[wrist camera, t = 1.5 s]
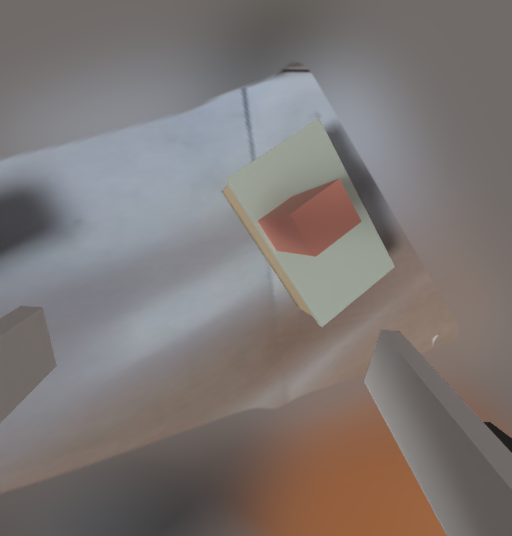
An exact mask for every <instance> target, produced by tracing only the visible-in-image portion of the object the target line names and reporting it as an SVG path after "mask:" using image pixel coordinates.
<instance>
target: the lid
mask: <svg viewBox="0 0 512 536" xmlns="http://www.w3.org/2000/svg"><path fill="white" fill-rule="evenodd" d="M225 181H226V183H227V184H228V186H229V187H230V189H231V191H232V192H233V194H234V195H235V197H236V198H237V200H238V201H239V203H240V204H241V206H242V207H243V209H244V210H245V212H246V214H247V215H248V217H249V218H250V220H251V221H252V223H253V224H254V226H255V227H256V229H257V230H258V232H259V234H260V235H261V237H262V238H263V240H264V241H265V243H266V244H267V246H268V247H269V249H270V250H271V252H272V254H273V255H274V257H275V258H276V260H277V261H278V263H279V264H280V266H281V267H282V269H283V270H284V272H285V274H286V275H287V277H288V278H289V280H290V281H291V283H292V284H293V286H294V287H295V289H296V290H297V292H298V294H299V295H300V297H301V298H302V300H303V301H304V303H305V304H306V306H307V307H308V309H309V310H310V312H311V313H312V315H313V317H314V318H315V320H316V321H317V323H318V324H319V326H321V327H323V326H324V325H325V324H326V323H328V322H329V321H330V320H331V319H333V318H334V317H335V316H336V315H337V314H339V313H340V312H341V311H342V310H343V309H345V308H346V307H347V306H348V305H349V304H351V303H352V302H353V301H354V300H355V299H357V298H358V297H359V296H360V295H361V294H363V293H364V292H365V291H366V290H367V289H369V288H370V287H371V286H372V285H373V284H375V283H376V282H377V281H378V280H379V279H381V278H382V277H383V276H384V275H385V274H387V273H388V272H389V271H390V270H392V269H393V268H394V267H395V266H394V264H393V262H392V260H391V258H390V256H389V254H388V252H387V250H386V248H385V246H384V244H383V242H382V240H381V239H380V237H379V235H378V233H377V231H376V229H375V227H374V225H373V223H372V221H371V219H370V217H369V215H368V213H367V211H366V209H365V207H364V205H363V203H362V201H361V199H360V197H359V195H358V193H357V191H356V189H355V187H354V185H353V183H352V181H351V180H350V178H349V176H348V174H347V172H346V170H345V168H344V166H343V164H342V162H341V160H340V158H339V156H338V154H337V152H336V150H335V148H334V146H333V144H332V142H331V140H330V138H329V136H328V134H327V132H326V130H325V128H324V126H323V124H322V122H321V121H320V119H319V118H318V119H316V120H315V121H313V122H312V123H310V124H309V125H307V126H306V127H304V128H303V129H301V130H300V131H298V132H297V133H295V134H294V135H292V136H291V137H289V138H288V139H286V140H285V141H283V142H282V143H280V144H279V145H277V146H276V147H274V148H273V149H271V150H269V151H268V152H266V153H265V154H263V155H262V156H260V157H259V158H257V159H256V160H254V161H253V162H251V163H250V164H248V165H247V166H245V167H244V168H242V169H241V170H239V171H238V172H236V173H235V174H233V175H232V176H230V177H229V178H227V179H226V180H225Z"/></svg>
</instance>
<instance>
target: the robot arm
mask: <svg viewBox="0 0 512 536" xmlns="http://www.w3.org/2000/svg"><path fill="white" fill-rule="evenodd" d="M56 366H57V365H56V361H55V357H54V353H53V349H52V345H51V340H50V336H49V332H48V328H47V324H46V320H45V315H44V311H43V307H28V306H20V307H19V308H17V309H15V310H14V311H12V312H10V313H9V314H7V315H5V316H4V317H2V318H1V319H0V423H1V422H2V421H3V420H4V419H5V418H6V417H7V416H8V415H9V414H10V412H11V411H12V410H13V409H14V408H15V407H16V406H17V405H18V404H19V403H20V402H21V401H22V400H23V399H24V398H25V397H26V396H27V395H28V394H29V393H30V392H31V391H32V390H33V389H34V388H35V387H36V386H37V385H38V384H39V383H40V382H41V381H42V380H43V379H44V378H45V377H46V376H47V375H48V374H49V373H50V372H51V371H52V370H53V369H54V368H55V367H56ZM364 383H365V384H366V386H367V388H368V390H369V392H370V394H371V396H372V398H373V399H374V401H375V403H376V405H377V407H378V409H379V410H380V412H381V414H382V416H383V418H384V420H385V422H386V424H387V425H388V427H389V429H390V431H391V433H392V435H393V436H394V438H395V440H396V442H397V444H398V446H399V447H400V449H401V451H402V453H403V455H404V457H405V459H406V461H407V463H408V464H409V466H410V468H411V470H412V472H413V474H414V476H415V477H416V479H417V481H418V483H419V485H420V487H421V488H422V490H423V492H424V494H425V496H426V498H427V500H428V502H429V503H430V505H431V507H432V509H433V511H434V513H435V514H436V516H437V518H438V520H439V522H440V524H441V526H442V528H443V530H444V531H445V533H446V535H447V536H512V438H510V437H509V436H508V435H506V434H505V433H504V432H502V431H501V430H500V429H498V428H497V427H496V426H494V425H493V424H491V423H490V422H483V421H482V420H481V419H480V418H479V417H478V416H477V415H476V414H475V413H474V412H473V410H472V409H471V408H470V407H469V406H468V405H467V404H466V403H465V402H464V401H463V400H462V399H461V397H460V396H459V395H458V394H457V393H456V392H455V391H454V390H453V389H452V388H451V387H450V386H449V384H448V383H447V382H446V381H445V380H444V379H443V378H442V377H441V376H440V375H439V374H438V373H437V371H436V370H435V369H433V367H432V366H431V365H430V364H429V363H428V362H427V361H426V360H425V358H424V357H423V356H422V355H421V354H420V353H419V352H418V351H417V350H416V349H415V348H414V347H413V345H412V344H411V343H410V342H409V341H408V340H407V339H406V338H405V337H404V336H403V335H402V333H401V332H400V331H389V330H381V332H380V335H379V338H378V341H377V344H376V347H375V350H374V354H373V357H372V360H371V363H370V366H369V369H368V372H367V375H366V378H365V381H364Z"/></svg>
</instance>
